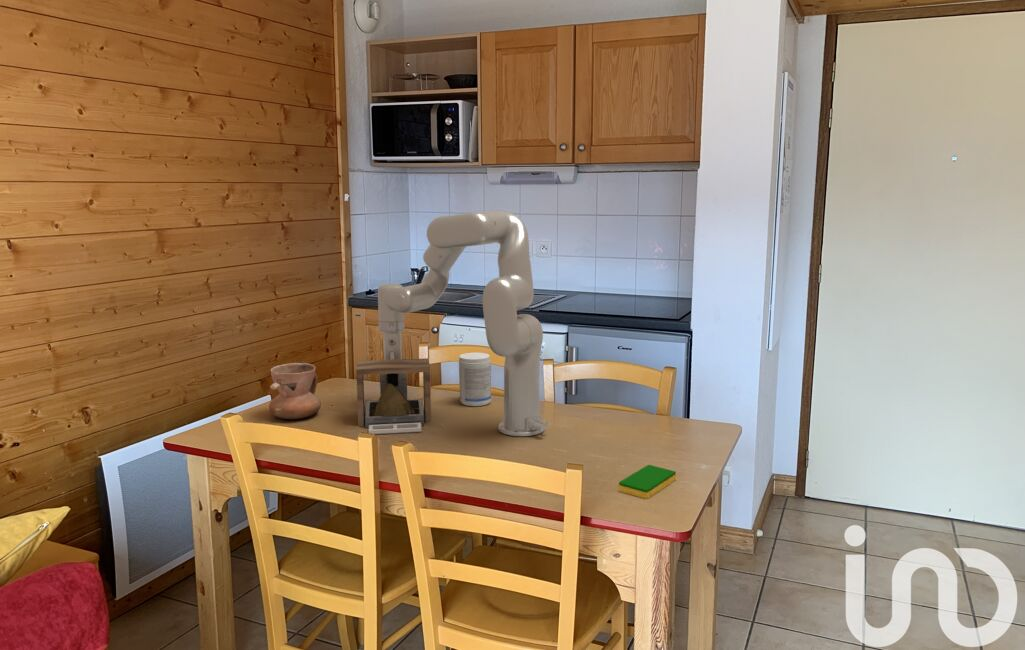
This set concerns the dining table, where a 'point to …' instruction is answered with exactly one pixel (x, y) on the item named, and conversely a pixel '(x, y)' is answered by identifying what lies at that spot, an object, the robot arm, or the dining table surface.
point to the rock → (392, 403)
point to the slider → (394, 418)
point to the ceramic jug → (294, 391)
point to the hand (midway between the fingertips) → (392, 385)
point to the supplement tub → (475, 379)
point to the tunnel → (389, 368)
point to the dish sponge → (647, 481)
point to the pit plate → (395, 428)
